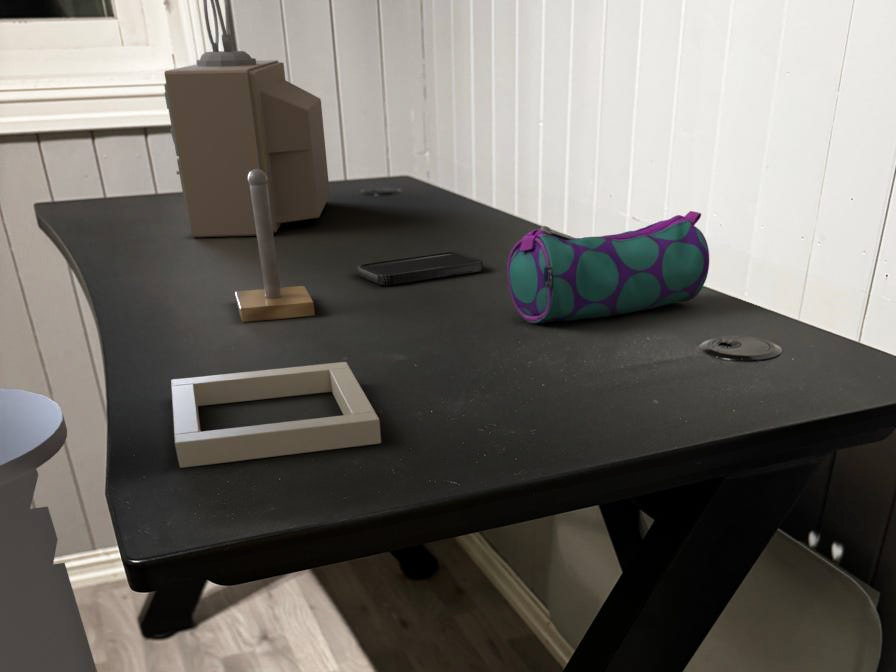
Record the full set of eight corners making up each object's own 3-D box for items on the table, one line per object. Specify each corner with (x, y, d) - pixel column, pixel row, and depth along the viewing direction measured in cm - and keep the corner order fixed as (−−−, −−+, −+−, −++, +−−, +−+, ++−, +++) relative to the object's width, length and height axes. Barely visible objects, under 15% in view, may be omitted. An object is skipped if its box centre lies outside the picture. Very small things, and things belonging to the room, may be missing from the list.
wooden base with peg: (242, 322, 103) (219, 176, 95) (236, 304, 109) (215, 166, 101) (315, 315, 104) (299, 171, 96) (305, 298, 111) (289, 162, 103)
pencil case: (542, 335, 97) (545, 236, 91) (505, 315, 103) (505, 221, 98) (708, 310, 104) (719, 217, 98) (663, 293, 110) (671, 204, 105)
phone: (354, 265, 120) (455, 250, 126) (355, 274, 120) (456, 259, 127) (381, 277, 114) (486, 261, 121) (382, 286, 115) (486, 270, 121)
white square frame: (179, 468, 69) (174, 443, 68) (175, 402, 81) (171, 379, 80) (381, 443, 73) (379, 419, 72) (348, 383, 85) (346, 361, 84)
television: (222, 200, 173) (181, -71, 151) (333, 197, 174) (308, -73, 152) (182, 238, 143) (123, -93, 121) (316, 235, 144) (282, -95, 122)
